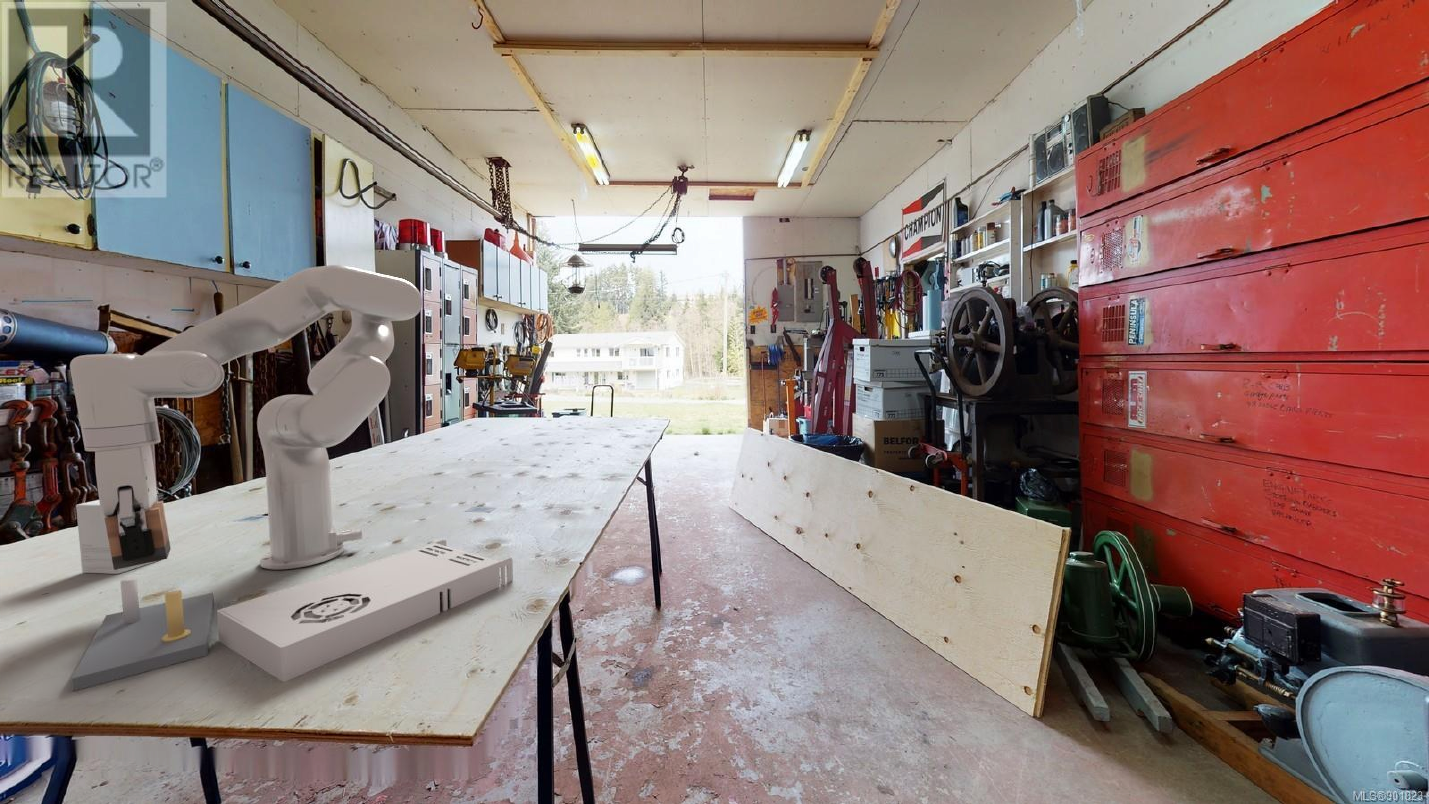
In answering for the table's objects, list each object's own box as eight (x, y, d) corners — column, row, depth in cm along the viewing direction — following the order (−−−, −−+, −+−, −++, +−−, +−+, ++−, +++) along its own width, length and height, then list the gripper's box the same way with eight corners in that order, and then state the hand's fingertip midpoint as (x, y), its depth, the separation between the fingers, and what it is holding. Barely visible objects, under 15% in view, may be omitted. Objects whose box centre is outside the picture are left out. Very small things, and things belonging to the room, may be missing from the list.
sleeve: (170, 548, 83) (162, 501, 82) (167, 558, 79) (158, 508, 78) (120, 558, 80) (111, 509, 79) (113, 570, 76) (104, 517, 75)
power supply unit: (513, 584, 89) (512, 556, 89) (283, 688, 61) (281, 648, 60) (446, 564, 99) (445, 538, 98) (218, 645, 70) (216, 610, 69)
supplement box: (164, 559, 98) (159, 494, 98) (116, 575, 91) (110, 505, 90) (130, 557, 99) (125, 493, 98) (79, 573, 92) (73, 504, 91)
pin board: (214, 601, 81) (210, 555, 80) (207, 654, 66) (203, 598, 66) (107, 625, 74) (102, 574, 73) (72, 691, 59) (66, 628, 58)
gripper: (96, 432, 81) (115, 543, 83) (68, 449, 68) (93, 578, 71) (165, 426, 86) (182, 530, 88) (151, 440, 73) (171, 561, 76)
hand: (142, 550), depth 79 cm, fingers closed on sleeve, 5 cm apart
